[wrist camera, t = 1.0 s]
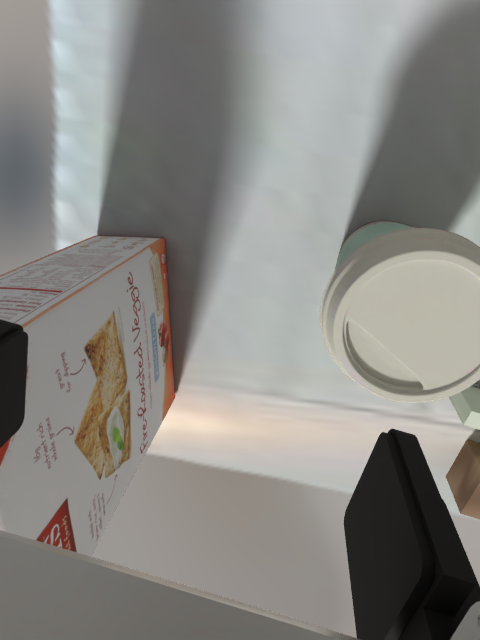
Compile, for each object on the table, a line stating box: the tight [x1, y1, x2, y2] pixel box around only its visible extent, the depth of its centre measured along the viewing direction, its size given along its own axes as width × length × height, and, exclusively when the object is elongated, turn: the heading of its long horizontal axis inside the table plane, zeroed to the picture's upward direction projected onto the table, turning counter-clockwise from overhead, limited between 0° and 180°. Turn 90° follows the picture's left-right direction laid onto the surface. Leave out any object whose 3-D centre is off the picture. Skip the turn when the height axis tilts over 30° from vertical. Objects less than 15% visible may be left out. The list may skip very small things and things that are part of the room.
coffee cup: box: [320, 221, 480, 403], centre depth 24 cm, size 8×9×12 cm
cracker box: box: [0, 236, 175, 557], centre depth 25 cm, size 14×6×21 cm, turn 0°
